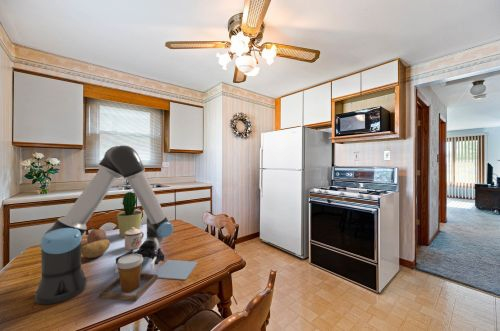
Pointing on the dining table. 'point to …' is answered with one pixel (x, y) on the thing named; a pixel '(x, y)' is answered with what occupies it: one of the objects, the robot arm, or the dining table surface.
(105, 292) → the walnut collar
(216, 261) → the dining table surface
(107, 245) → the potato
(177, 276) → the slate mat
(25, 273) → the dining table surface
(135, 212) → the potted cactus
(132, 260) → the disposable coffee cup
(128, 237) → the teacup with lid
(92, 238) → the onion
